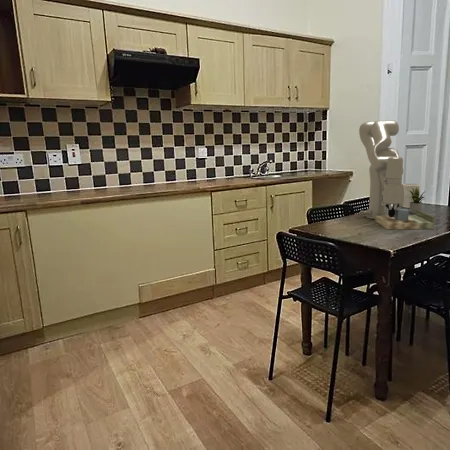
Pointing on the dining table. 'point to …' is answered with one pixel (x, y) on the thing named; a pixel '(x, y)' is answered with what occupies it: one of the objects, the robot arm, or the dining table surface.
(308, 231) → the dining table surface
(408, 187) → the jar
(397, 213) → the block
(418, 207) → the house plant
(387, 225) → the board
